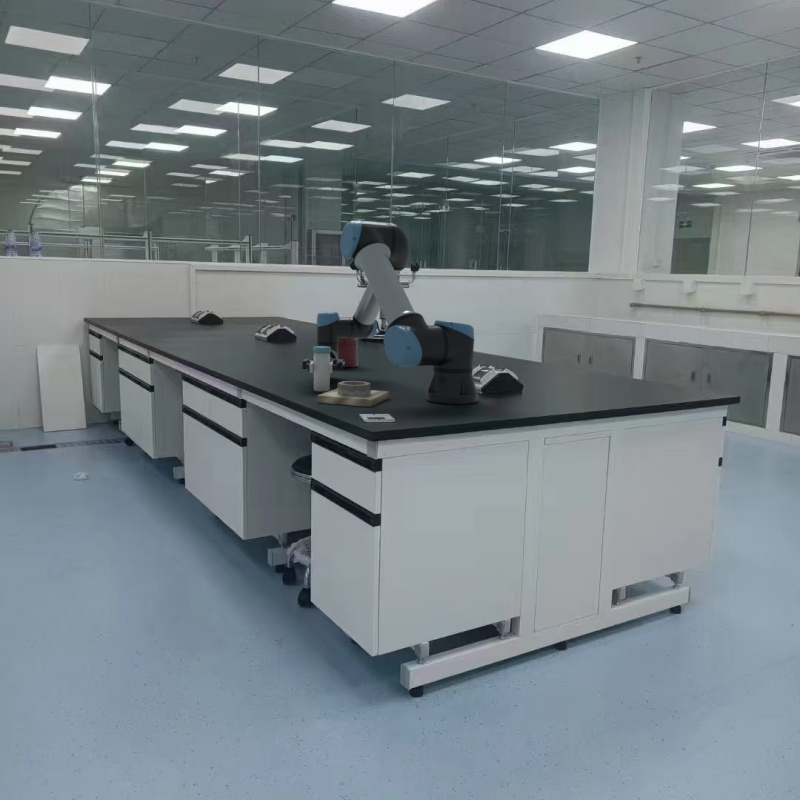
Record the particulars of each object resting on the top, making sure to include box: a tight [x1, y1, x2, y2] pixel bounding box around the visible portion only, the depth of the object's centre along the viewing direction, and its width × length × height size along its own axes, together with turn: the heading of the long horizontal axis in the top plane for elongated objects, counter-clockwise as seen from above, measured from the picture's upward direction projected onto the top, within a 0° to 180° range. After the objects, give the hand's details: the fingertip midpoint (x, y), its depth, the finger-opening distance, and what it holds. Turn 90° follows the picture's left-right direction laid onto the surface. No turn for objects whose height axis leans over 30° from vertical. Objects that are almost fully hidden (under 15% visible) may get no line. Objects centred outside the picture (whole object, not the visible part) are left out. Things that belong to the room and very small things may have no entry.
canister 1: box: [312, 345, 331, 392], centre depth 222 cm, size 5×5×14 cm
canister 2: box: [338, 338, 359, 369], centre depth 283 cm, size 13×13×18 cm
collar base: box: [316, 380, 390, 408], centre depth 206 cm, size 16×16×5 cm
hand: (320, 368), depth 217 cm, fingers open, 5 cm apart
